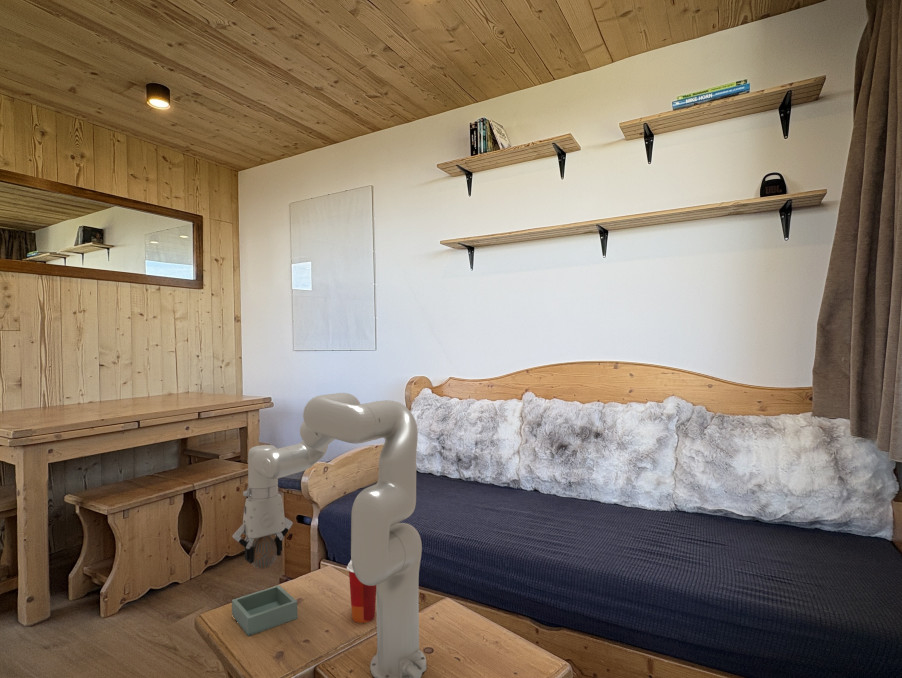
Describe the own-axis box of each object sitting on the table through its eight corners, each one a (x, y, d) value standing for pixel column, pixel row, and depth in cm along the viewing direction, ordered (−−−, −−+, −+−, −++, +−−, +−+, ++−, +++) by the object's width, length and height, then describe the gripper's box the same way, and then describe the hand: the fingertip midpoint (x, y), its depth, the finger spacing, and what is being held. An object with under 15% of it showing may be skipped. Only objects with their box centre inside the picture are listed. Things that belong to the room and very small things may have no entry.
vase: (271, 571, 134) (271, 537, 134) (245, 571, 134) (245, 537, 134) (281, 560, 141) (280, 528, 141) (256, 560, 141) (256, 528, 141)
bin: (297, 618, 136) (297, 601, 136) (248, 636, 128) (247, 618, 128) (278, 600, 146) (278, 584, 146) (231, 616, 138) (231, 599, 138)
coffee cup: (378, 608, 141) (377, 553, 141) (379, 623, 133) (378, 566, 133) (348, 611, 139) (347, 556, 140) (347, 627, 131) (346, 569, 132)
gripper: (234, 501, 129) (235, 572, 129) (299, 488, 140) (300, 553, 140) (225, 495, 135) (226, 562, 134) (288, 483, 146) (289, 545, 146)
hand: (263, 557), depth 137 cm, fingers closed on vase, 6 cm apart
